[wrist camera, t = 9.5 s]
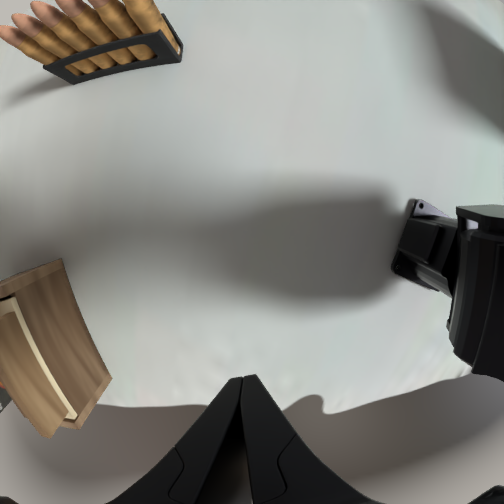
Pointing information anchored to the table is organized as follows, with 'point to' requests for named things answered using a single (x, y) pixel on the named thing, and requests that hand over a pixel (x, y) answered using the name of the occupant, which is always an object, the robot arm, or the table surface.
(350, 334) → the table surface
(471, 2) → the table surface
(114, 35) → the ammunition clip
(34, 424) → the lid
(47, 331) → the walnut box
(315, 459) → the robot arm
